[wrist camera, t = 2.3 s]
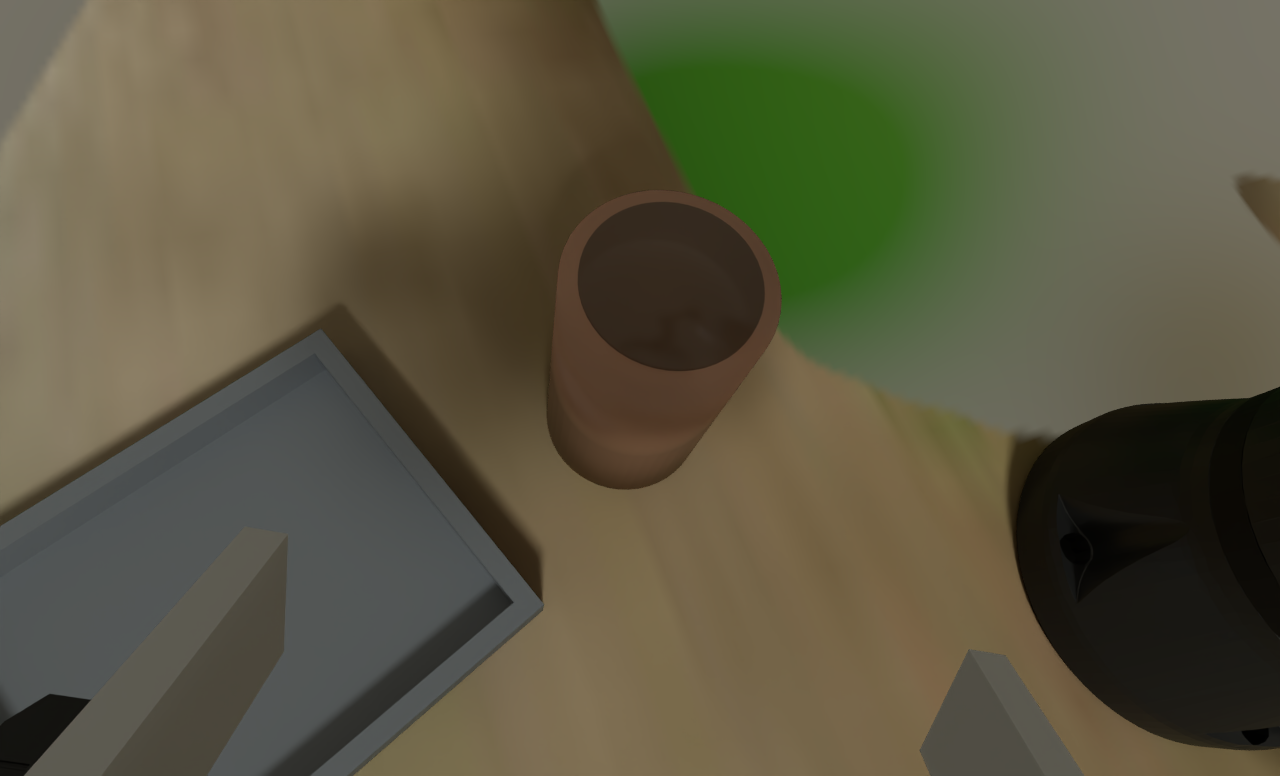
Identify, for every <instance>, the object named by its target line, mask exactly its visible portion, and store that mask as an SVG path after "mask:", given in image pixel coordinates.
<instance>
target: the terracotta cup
mask: <svg viewBox="0 0 1280 776" xmlns="http://www.w3.org/2000/svg"><path fill="white" fill-rule="evenodd" d="M781 299H782V298H781V287H780V282H779V277H778V273H777V270H776V268H775V265H774V263H773V260H772V258H771V257H770V254H769V252H768V251H767V249H766V247H765V246H764V245H763V243H762V242H761V240H760V239H759V237H758V236H757V235H756V234H755V233H754V232H753V231H752V230H751V229H750V227H749V226H747V225H746V224H745V223H744V222H743V221H742V220H741V219H739V218H738V217H737V216H735V215H734V214H733V213H731V212H730V211H728V210H727V209H725V208H723V207H721V206H720V205H718V204H716V203H714V202H711V201H709V200H706V199H704V198H701V197H698V196H695V195H692V194H688V193H683V192H678V191H668V190H648V191H641V192H634V193H630V194H627V195H623V196H620V197H617V198H615V199H612V200H610V201H608V202H606V203H605V204H603V205H601V206H599V207H598V208H596V209H595V210H594V211H592V212H591V213H590V214H588V215H587V216H586V217H585V218H584V219H583V220H582V221H581V222H580V223H579V224H578V225H577V227H576V228H575V229H574V231H573V232H572V233H571V235H570V237H569V239H568V241H567V242H566V244H565V246H564V249H563V252H562V255H561V258H560V263H559V268H558V278H557V290H556V302H555V315H554V327H553V340H552V352H551V365H550V377H549V389H548V402H547V425H548V430H549V434H550V437H551V440H552V442H553V445H554V446H555V448H556V450H557V452H558V454H559V455H560V456H561V458H562V459H563V460H564V462H565V463H566V464H567V465H568V466H569V467H570V468H571V469H572V470H574V471H575V472H576V473H577V474H579V475H580V476H582V477H583V478H585V479H587V480H588V481H591V482H593V483H595V484H598V485H601V486H604V487H608V488H614V489H627V490H629V489H639V488H643V487H647V486H650V485H653V484H655V483H658V482H660V481H662V480H664V479H665V478H667V477H668V476H670V475H671V474H672V473H674V472H675V471H676V470H677V469H678V468H679V467H680V466H681V465H682V464H683V462H684V461H685V460H686V458H687V457H688V456H689V454H690V453H691V452H692V450H693V449H694V447H695V446H696V445H697V443H698V442H699V441H700V439H701V438H702V436H703V435H704V434H705V432H706V431H707V430H708V428H709V427H710V425H711V424H712V423H713V421H714V420H715V419H716V417H717V416H718V414H719V413H720V412H721V410H722V409H723V408H724V406H725V405H726V403H727V402H728V401H729V399H730V398H731V397H732V395H733V394H734V392H735V391H736V390H737V388H738V387H739V386H740V384H741V383H742V381H743V380H744V379H745V377H746V376H747V375H748V373H749V372H750V370H751V369H752V368H753V366H754V365H755V364H756V362H757V361H758V359H759V358H760V357H761V355H762V354H763V353H764V351H765V350H766V348H767V347H768V345H769V344H770V342H771V340H772V338H773V336H774V334H775V331H776V328H777V326H778V323H779V318H780V313H781Z"/></svg>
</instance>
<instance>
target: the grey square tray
mask: <svg viewBox="0 0 1280 776" xmlns="http://www.w3.org/2000/svg"><path fill="white" fill-rule="evenodd" d="M244 527H251V528H257V529H262V530H268V531H274V532H280V533H286V534H288V553H287V580H286V606H285V633H284V652H283V654H282V655H281V657H280V658H279V660H278V662H277V663H276V665H275V667H274V668H273V670H272V671H271V673H270V675H269V676H268V678H267V679H266V681H265V683H264V684H263V686H262V687H261V689H260V691H259V692H258V694H257V696H256V697H255V699H254V700H253V702H252V704H251V705H250V707H249V708H248V710H247V712H246V713H245V715H244V717H243V718H242V720H241V721H240V723H239V725H238V726H237V728H236V729H235V731H234V733H233V734H232V736H231V737H230V739H229V741H228V742H227V744H226V746H225V747H224V749H223V750H222V752H221V754H220V755H219V757H218V758H217V760H216V762H215V763H214V765H213V767H212V768H211V770H210V771H209V773H208V775H207V776H353V775H354V774H355V773H357V772H358V771H359V770H360V769H361V768H362V767H363V766H365V765H366V764H367V763H368V762H369V761H370V760H372V759H373V758H374V757H375V756H376V755H377V754H378V753H380V752H381V751H382V750H383V749H384V748H385V747H386V746H388V745H389V744H390V743H391V742H392V741H393V740H394V739H396V738H397V737H398V736H399V735H400V734H401V733H403V732H404V731H405V730H406V729H407V728H408V727H409V726H411V725H412V724H413V723H414V722H415V721H416V720H417V719H419V718H420V717H421V716H422V715H423V714H424V713H425V712H427V711H428V710H429V709H430V708H431V707H432V706H434V705H435V704H436V703H437V702H438V701H439V700H440V699H442V698H443V697H444V696H445V695H446V694H447V693H448V692H450V691H451V690H452V689H453V688H454V687H455V686H456V685H458V684H459V683H460V682H461V681H462V680H463V679H465V678H466V677H467V676H468V675H469V674H470V673H471V672H473V671H474V670H475V669H476V668H477V667H478V666H479V665H481V664H482V663H483V662H484V661H485V660H486V659H487V658H489V657H490V656H491V655H492V654H493V653H494V652H496V651H497V650H498V649H499V648H500V647H501V646H502V645H504V644H505V643H506V642H507V641H508V640H509V639H510V638H512V637H513V636H514V635H515V634H516V633H517V632H518V631H520V630H521V629H522V628H523V627H524V626H525V625H527V624H528V623H529V622H530V621H531V620H532V619H533V618H535V617H536V616H537V615H538V614H539V613H540V612H541V611H543V607H544V604H543V603H542V601H541V600H540V599H539V598H538V597H537V595H536V594H535V593H534V592H533V590H532V589H531V588H530V587H529V585H528V584H527V583H526V582H525V580H524V579H523V578H522V577H521V575H520V574H519V573H518V572H517V571H516V569H515V568H514V567H513V566H512V564H511V563H510V562H509V561H508V559H507V558H506V557H505V556H504V554H503V553H502V552H501V551H500V549H499V548H498V547H497V546H496V545H495V543H494V542H493V541H492V540H491V538H490V537H489V536H488V535H487V533H486V532H485V531H484V530H483V528H482V527H481V526H480V525H479V523H478V522H477V521H476V520H475V519H474V517H473V516H472V515H471V514H470V512H469V511H468V510H467V509H466V507H465V506H464V505H463V504H462V502H461V501H460V500H459V499H458V497H457V496H456V495H455V494H454V493H453V491H452V490H451V489H450V488H449V486H448V485H447V484H446V483H445V481H444V480H443V479H442V478H441V476H440V475H439V474H438V473H437V471H436V470H435V469H434V468H433V467H432V465H431V464H430V463H429V462H428V460H427V459H426V458H425V457H424V455H423V454H422V453H421V452H420V450H419V449H418V448H417V447H416V445H415V444H414V443H413V442H412V441H411V439H410V438H409V437H408V436H407V434H406V433H405V432H404V431H403V429H402V428H401V427H400V426H399V424H398V423H397V422H396V421H395V419H394V418H393V417H392V416H391V415H390V413H389V412H388V411H387V410H386V408H385V407H384V406H383V405H382V403H381V402H380V401H379V400H378V398H377V397H376V396H375V395H374V393H373V392H372V391H371V390H370V389H369V387H368V386H367V385H366V384H365V382H364V381H363V380H362V379H361V377H360V376H359V375H358V374H357V372H356V371H355V370H354V369H353V367H352V366H351V365H350V364H349V363H348V361H347V360H346V359H345V358H344V356H343V355H342V354H341V353H340V351H339V350H338V349H337V348H336V346H335V345H334V344H333V343H332V341H331V340H330V339H329V338H328V337H327V335H326V334H325V333H324V332H323V330H322V329H319V330H318V331H316V332H314V333H313V334H311V335H310V336H308V337H306V338H305V339H303V340H301V341H300V342H298V343H297V344H295V345H293V346H292V347H290V348H288V349H287V350H285V351H284V352H282V353H280V354H279V355H277V356H276V357H274V358H272V359H271V360H269V361H267V362H266V363H264V364H263V365H261V366H259V367H258V368H256V369H254V370H253V371H251V372H250V373H248V374H246V375H245V376H243V377H241V378H240V379H238V380H237V381H235V382H233V383H232V384H230V385H228V386H227V387H225V388H224V389H222V390H220V391H219V392H217V393H215V394H214V395H212V396H211V397H209V398H207V399H206V400H204V401H203V402H201V403H199V404H198V405H196V406H194V407H193V408H191V409H190V410H188V411H186V412H185V413H183V414H181V415H180V416H178V417H177V418H175V419H173V420H172V421H170V422H168V423H167V424H165V425H164V426H162V427H160V428H159V429H157V430H155V431H154V432H152V433H151V434H149V435H147V436H146V437H144V438H143V439H141V440H139V441H138V442H136V443H134V444H133V445H131V446H130V447H128V448H126V449H125V450H123V451H121V452H120V453H118V454H117V455H115V456H113V457H112V458H110V459H108V460H107V461H105V462H104V463H102V464H100V465H99V466H97V467H95V468H94V469H92V470H91V471H89V472H87V473H86V474H84V475H82V476H81V477H79V478H78V479H76V480H74V481H73V482H71V483H70V484H68V485H66V486H65V487H63V488H61V489H60V490H58V491H57V492H55V493H53V494H52V495H50V496H48V497H47V498H45V499H44V500H42V501H40V502H39V503H37V504H35V505H34V506H32V507H31V508H29V509H27V510H26V511H24V512H22V513H21V514H19V515H18V516H16V517H14V518H13V519H11V520H10V521H8V522H6V523H5V524H3V525H1V526H0V725H1V724H2V723H3V722H4V721H6V720H7V719H9V718H10V717H12V716H14V715H15V714H17V713H19V712H20V711H22V710H24V709H25V708H27V707H29V706H30V705H32V704H33V703H35V702H37V701H38V700H40V699H42V698H43V697H45V696H47V695H48V694H56V695H63V696H69V697H76V698H83V699H90V700H92V698H93V697H94V696H95V695H96V694H97V693H98V692H99V691H100V689H101V688H102V687H103V686H104V685H105V684H106V683H107V681H108V680H109V679H110V678H111V677H112V676H113V675H114V674H115V672H116V671H117V670H118V669H119V668H120V667H121V666H122V665H123V663H124V662H125V661H126V660H127V659H128V658H129V657H130V656H131V654H132V653H133V652H134V651H135V650H136V649H137V648H138V647H139V645H140V644H141V643H142V642H143V641H144V640H145V639H146V637H147V636H148V635H149V634H150V633H151V632H152V631H153V630H154V628H155V627H156V626H157V625H158V624H159V623H160V622H161V621H162V619H163V618H164V617H165V616H166V615H167V614H168V613H169V612H170V610H171V609H172V608H173V607H174V606H175V605H176V604H177V602H178V601H179V600H180V599H181V598H182V597H183V596H184V595H185V593H186V592H187V591H188V590H189V589H190V588H191V587H192V586H193V584H194V583H195V582H196V581H197V580H198V579H199V578H200V577H201V575H202V574H203V573H204V572H205V571H206V570H207V569H208V567H209V566H210V565H211V564H212V563H213V562H214V561H215V560H216V558H217V557H218V556H219V555H220V554H221V553H222V552H223V551H224V549H225V548H226V547H227V546H228V545H229V544H230V543H231V542H232V540H233V539H234V538H235V537H236V536H237V535H238V534H239V533H240V531H241V530H242V529H243V528H244Z"/></svg>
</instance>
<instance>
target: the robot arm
mask: <svg viewBox="0 0 1280 776" xmlns="http://www.w3.org/2000/svg"><path fill="white" fill-rule="evenodd" d="M1017 544H1018V554H1019V561H1020V566H1021V571H1022V576H1023V579H1024V583H1025V587H1026V590H1027V593H1028V596H1029V599H1030V601H1031V604H1032V606H1033V609H1034V611H1035V613H1036V616H1037V618H1038V620H1039V622H1040V624H1041V626H1042V628H1043V630H1044V631H1045V633H1046V635H1047V637H1048V638H1049V640H1050V642H1051V643H1052V645H1053V646H1054V648H1055V650H1056V651H1057V652H1058V654H1059V655H1060V657H1061V658H1062V659H1063V661H1064V662H1065V663H1066V665H1067V666H1068V667H1069V668H1070V670H1071V671H1072V672H1073V673H1074V674H1075V676H1076V677H1077V678H1078V679H1079V680H1080V681H1081V682H1082V683H1083V684H1084V685H1085V686H1086V687H1087V688H1088V689H1089V690H1090V691H1091V692H1092V693H1093V694H1094V695H1095V696H1096V697H1097V698H1098V699H1100V700H1101V701H1102V702H1103V703H1104V704H1106V705H1107V706H1108V707H1109V708H1111V709H1112V710H1113V711H1115V712H1116V713H1117V714H1119V715H1120V716H1122V717H1123V718H1125V719H1126V720H1128V721H1130V722H1131V723H1133V724H1135V725H1137V726H1138V727H1140V728H1142V729H1144V730H1146V731H1148V732H1150V733H1153V734H1155V735H1158V736H1160V737H1163V738H1166V739H1169V740H1172V741H1175V742H1179V743H1183V744H1188V745H1194V746H1202V747H1212V748H1223V749H1234V750H1249V751H1250V750H1268V749H1276V748H1280V387H1278V388H1276V389H1273V390H1271V391H1268V392H1265V393H1262V394H1259V395H1257V396H1254V397H1251V398H1243V399H1242V398H1241V399H1221V400H1203V401H1188V402H1175V403H1155V404H1141V405H1133V406H1129V407H1124V408H1120V409H1117V410H1114V411H1111V412H1108V413H1105V414H1103V415H1101V416H1098V417H1096V418H1094V419H1092V420H1090V421H1088V422H1085V423H1083V424H1081V425H1079V426H1077V427H1075V428H1073V429H1071V430H1069V431H1067V432H1066V433H1064V434H1062V435H1061V436H1059V437H1058V438H1057V439H1056V440H1055V441H1053V442H1052V443H1051V444H1050V445H1049V446H1048V447H1047V448H1046V449H1045V450H1044V452H1043V453H1042V454H1041V455H1040V456H1039V458H1038V459H1037V461H1036V462H1035V464H1034V466H1033V467H1032V469H1031V471H1030V473H1029V475H1028V478H1027V480H1026V482H1025V485H1024V488H1023V491H1022V495H1021V499H1020V504H1019V510H1018V519H1017ZM287 553H288V534H286V533H280V532H274V531H268V530H262V529H257V528H251V527H244V528H243V529H242V530H241V531H240V533H239V534H238V535H237V536H236V537H235V538H234V539H233V540H232V542H231V543H230V544H229V545H228V546H227V547H226V548H225V549H224V551H223V552H222V553H221V554H220V555H219V556H218V557H217V558H216V560H215V561H214V562H213V563H212V564H211V565H210V566H209V567H208V569H207V570H206V571H205V572H204V573H203V574H202V575H201V577H200V578H199V579H198V580H197V581H196V582H195V583H194V584H193V586H192V587H191V588H190V589H189V590H188V591H187V592H186V593H185V595H184V596H183V597H182V598H181V599H180V600H179V601H178V602H177V604H176V605H175V606H174V607H173V608H172V609H171V610H170V612H169V613H168V614H167V615H166V616H165V617H164V618H163V619H162V621H161V622H160V623H159V624H158V625H157V626H156V627H155V628H154V630H153V631H152V632H151V633H150V634H149V635H148V636H147V637H146V639H145V640H144V641H143V642H142V643H141V644H140V645H139V647H138V648H137V649H136V650H135V651H134V652H133V653H132V654H131V656H130V657H129V658H128V659H127V660H126V661H125V662H124V663H123V665H122V666H121V667H120V668H119V669H118V670H117V671H116V672H115V674H114V675H113V676H112V677H111V678H110V679H109V680H108V681H107V683H106V684H105V685H104V686H103V687H102V688H101V689H100V691H99V692H98V693H97V694H96V695H95V696H94V697H93V698H92V700H90V699H83V698H76V697H69V696H63V695H56V694H48V695H47V696H45V697H43V698H42V699H40V700H38V701H37V702H35V703H33V704H32V705H30V706H29V707H27V708H25V709H24V710H22V711H20V712H19V713H17V714H15V715H14V716H12V717H10V718H9V719H7V720H6V721H4V722H3V723H2V724H1V725H0V776H207V775H208V773H209V771H210V770H211V768H212V767H213V765H214V763H215V762H216V760H217V758H218V757H219V755H220V754H221V752H222V750H223V749H224V747H225V746H226V744H227V742H228V741H229V739H230V737H231V736H232V734H233V733H234V731H235V729H236V728H237V726H238V725H239V723H240V721H241V720H242V718H243V717H244V715H245V713H246V712H247V710H248V708H249V707H250V705H251V704H252V702H253V700H254V699H255V697H256V696H257V694H258V692H259V691H260V689H261V687H262V686H263V684H264V683H265V681H266V679H267V678H268V676H269V675H270V673H271V671H272V670H273V668H274V667H275V665H276V663H277V662H278V660H279V658H280V657H281V655H282V654H283V652H284V633H285V606H286V580H287ZM920 752H921V754H922V757H923V759H924V761H925V764H926V766H927V768H928V771H929V773H930V775H931V776H1084V774H1083V773H1082V771H1081V770H1080V768H1079V767H1078V765H1077V764H1076V762H1075V761H1074V759H1073V758H1072V756H1071V755H1070V753H1069V752H1068V750H1067V748H1066V747H1065V745H1064V744H1063V742H1062V741H1061V739H1060V738H1059V736H1058V735H1057V733H1056V732H1055V730H1054V729H1053V727H1052V726H1051V724H1050V723H1049V721H1048V720H1047V718H1046V717H1045V715H1044V713H1043V712H1042V710H1041V709H1040V707H1039V706H1038V704H1037V703H1036V701H1035V700H1034V698H1033V697H1032V695H1031V694H1030V692H1029V691H1028V689H1027V688H1026V686H1025V685H1024V683H1023V682H1022V680H1021V678H1020V677H1019V675H1018V674H1017V672H1016V671H1015V669H1014V668H1013V666H1012V665H1011V663H1010V662H1009V660H1008V659H1007V657H1006V656H1005V655H1000V654H994V653H988V652H982V651H976V650H971V649H969V650H968V652H967V654H966V656H965V658H964V660H963V663H962V665H961V667H960V669H959V671H958V673H957V675H956V677H955V679H954V681H953V683H952V685H951V687H950V689H949V691H948V693H947V695H946V697H945V700H944V702H943V704H942V706H941V708H940V710H939V712H938V714H937V716H936V718H935V720H934V722H933V724H932V726H931V728H930V730H929V732H928V734H927V736H926V739H925V741H924V743H923V745H922V747H921V749H920Z"/></svg>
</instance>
